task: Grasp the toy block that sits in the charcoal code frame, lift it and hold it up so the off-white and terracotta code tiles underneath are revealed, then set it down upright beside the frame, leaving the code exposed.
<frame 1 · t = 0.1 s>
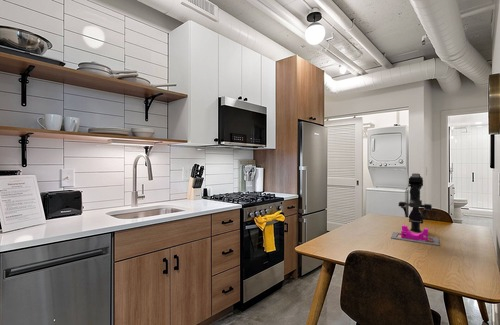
hand: (414, 218, 177), 15 cm above the table, fingers open, 9 cm apart
code frame: (414, 238, 179), on the table
toy block: (414, 238, 179), resting in code frame
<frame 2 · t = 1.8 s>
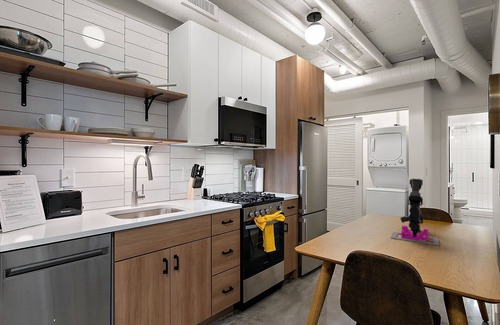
hand: (414, 235, 179), 2 cm above the table, fingers closed on toy block, 6 cm apart
toy block: (414, 238, 179), resting in code frame, touching gripper
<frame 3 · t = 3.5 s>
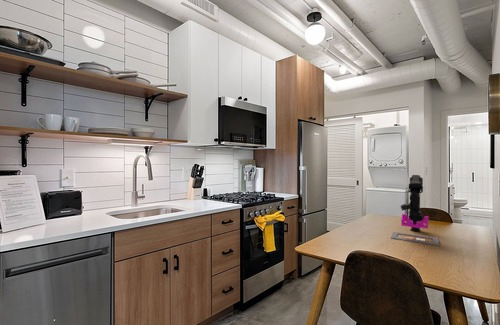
hand: (414, 223, 179), 10 cm above the table, fingers closed on toy block, 6 cm apart
toy block: (414, 226, 179), point 8 cm above the table, touching gripper
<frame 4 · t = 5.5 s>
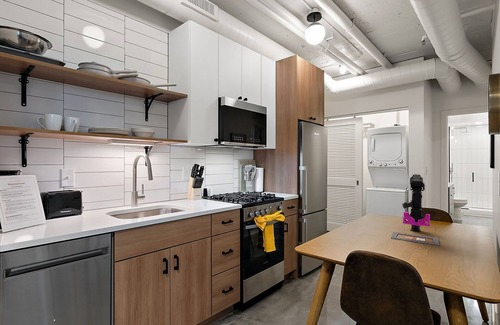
hand: (416, 221, 178), 12 cm above the table, fingers closed on toy block, 6 cm apart
toy block: (416, 224, 178), point 10 cm above the table, touching gripper
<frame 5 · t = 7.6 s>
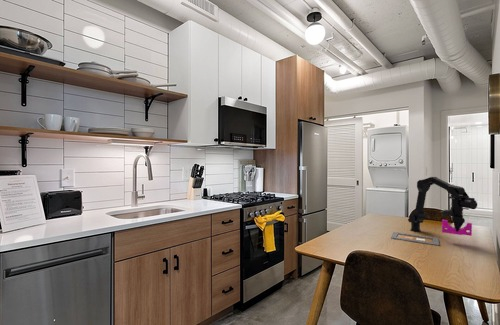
hand: (456, 230, 169), 8 cm above the table, fingers closed on toy block, 6 cm apart
toy block: (456, 233, 169), point 6 cm above the table, touching gripper
when the fingers open (3 cm above the table, at t = 8.9 s): toy block drops 2 cm, on the table.
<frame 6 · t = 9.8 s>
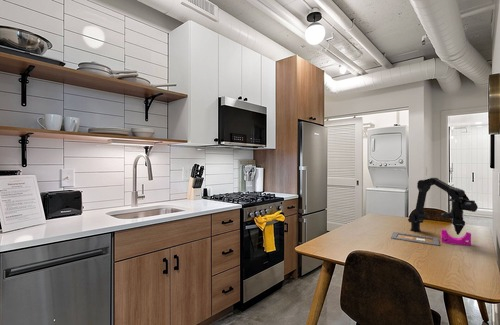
hand: (456, 232, 169), 7 cm above the table, fingers open, 9 cm apart
toy block: (455, 243, 170), on the table
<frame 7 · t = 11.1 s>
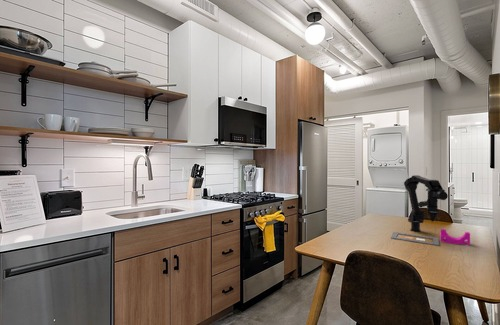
hand: (432, 220, 182), 12 cm above the table, fingers open, 9 cm apart
toy block: (454, 243, 171), on the table
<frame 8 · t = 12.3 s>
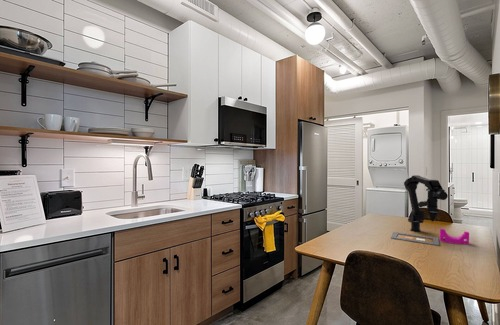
hand: (432, 220, 182), 12 cm above the table, fingers open, 9 cm apart
at the end: toy block inside the target area (3.0 cm from its centre), on the table; toy block tilted 0°; the gripper is holding nothing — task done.
